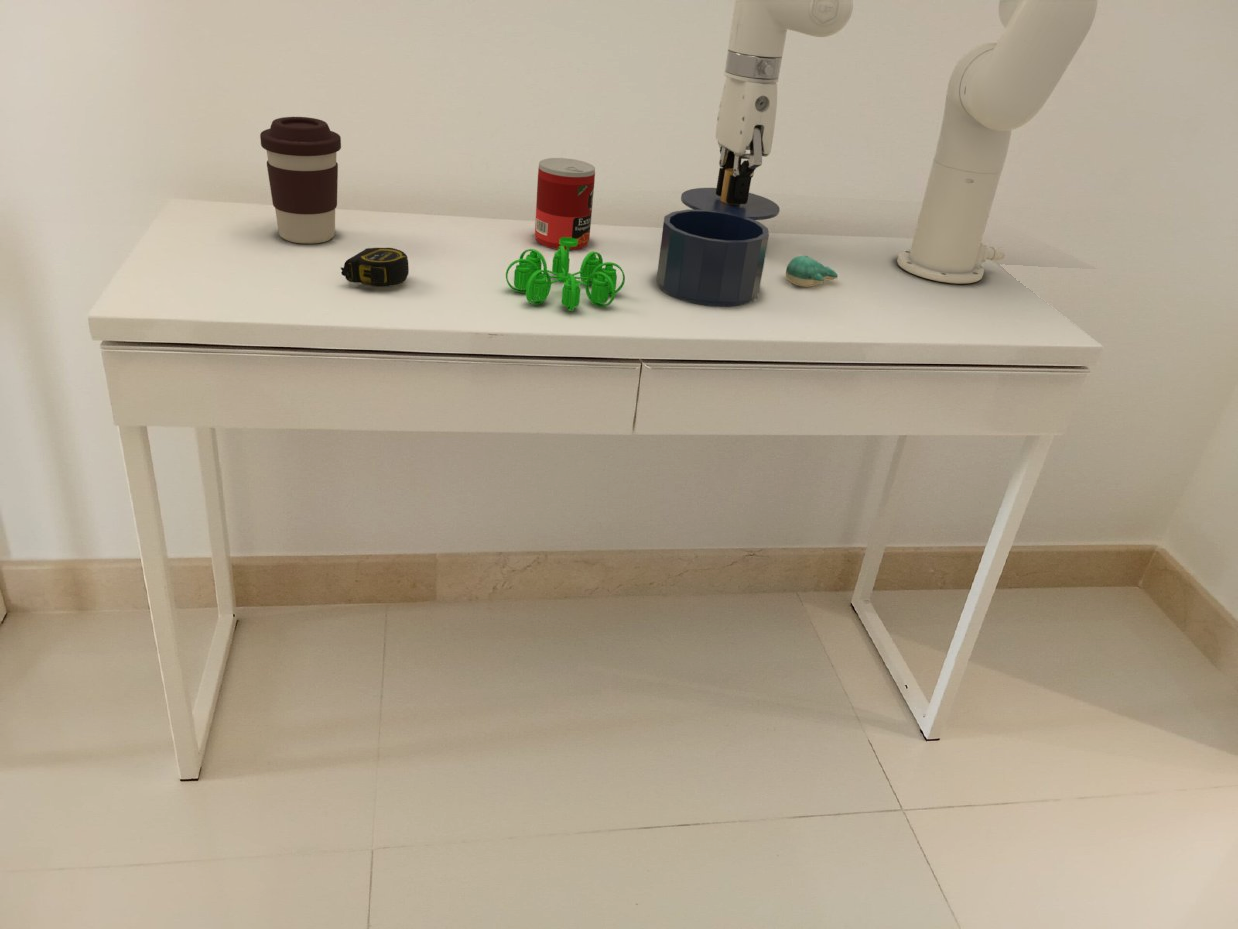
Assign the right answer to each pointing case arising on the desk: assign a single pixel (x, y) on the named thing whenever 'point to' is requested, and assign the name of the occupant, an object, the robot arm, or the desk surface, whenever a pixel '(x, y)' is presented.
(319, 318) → the desk surface
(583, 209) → the canned food
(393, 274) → the tape measure
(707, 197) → the tin lid
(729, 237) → the tin
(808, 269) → the whale figurine
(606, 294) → the chandelier
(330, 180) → the coffee cup
